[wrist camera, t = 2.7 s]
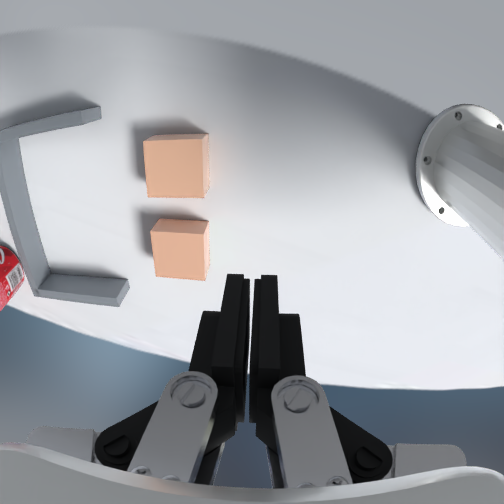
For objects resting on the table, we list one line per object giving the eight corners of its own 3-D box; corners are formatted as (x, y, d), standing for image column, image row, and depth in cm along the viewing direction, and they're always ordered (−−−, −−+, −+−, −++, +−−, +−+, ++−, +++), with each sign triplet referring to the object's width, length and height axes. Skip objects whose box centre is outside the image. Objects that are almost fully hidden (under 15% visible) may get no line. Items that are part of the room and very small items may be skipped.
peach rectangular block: (209, 220, 31) (203, 234, 28) (210, 263, 33) (205, 280, 31) (159, 217, 31) (150, 231, 28) (164, 260, 33) (155, 276, 31)
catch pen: (100, 106, 25) (81, 111, 22) (129, 287, 35) (119, 306, 32) (10, 126, 25) (-11, 134, 22) (47, 280, 36) (34, 296, 33)
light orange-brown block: (208, 133, 26) (202, 139, 24) (209, 186, 29) (203, 197, 26) (154, 134, 26) (142, 141, 24) (158, 186, 29) (147, 197, 26)
